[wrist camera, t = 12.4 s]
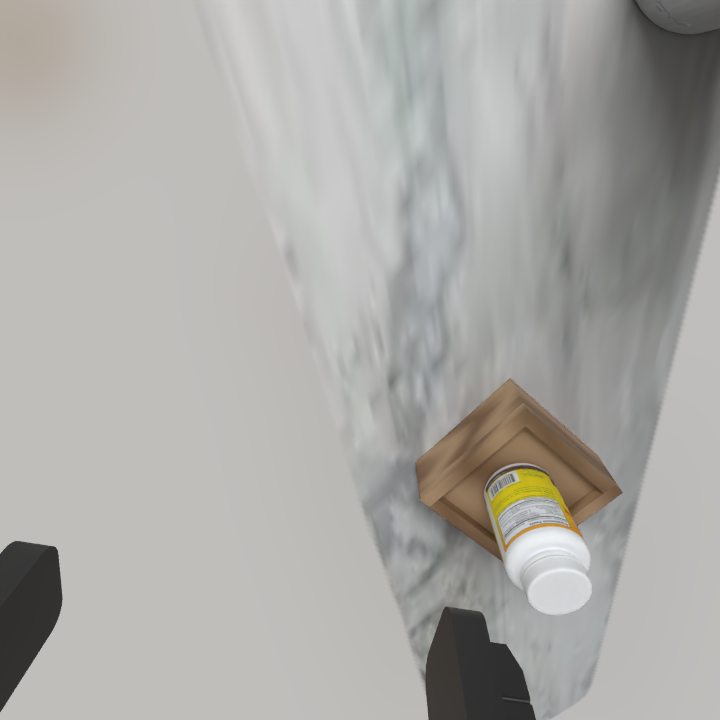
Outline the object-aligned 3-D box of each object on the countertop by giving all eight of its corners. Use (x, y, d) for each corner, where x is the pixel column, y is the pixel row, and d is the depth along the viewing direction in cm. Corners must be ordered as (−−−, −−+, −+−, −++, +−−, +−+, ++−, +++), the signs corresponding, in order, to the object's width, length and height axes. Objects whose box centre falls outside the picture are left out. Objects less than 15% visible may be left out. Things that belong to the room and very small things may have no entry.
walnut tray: (509, 378, 41) (526, 409, 37) (597, 455, 44) (622, 492, 40) (415, 462, 45) (420, 500, 40) (501, 528, 48) (514, 570, 43)
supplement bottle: (542, 518, 42) (590, 629, 33) (475, 511, 42) (504, 620, 33) (561, 462, 40) (618, 565, 31) (490, 454, 40) (526, 555, 30)
